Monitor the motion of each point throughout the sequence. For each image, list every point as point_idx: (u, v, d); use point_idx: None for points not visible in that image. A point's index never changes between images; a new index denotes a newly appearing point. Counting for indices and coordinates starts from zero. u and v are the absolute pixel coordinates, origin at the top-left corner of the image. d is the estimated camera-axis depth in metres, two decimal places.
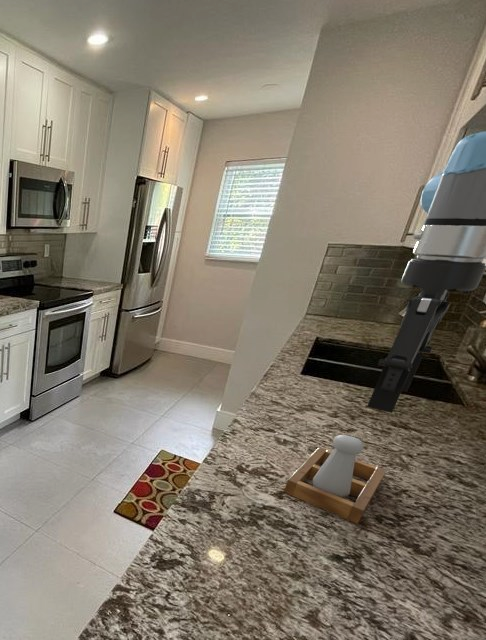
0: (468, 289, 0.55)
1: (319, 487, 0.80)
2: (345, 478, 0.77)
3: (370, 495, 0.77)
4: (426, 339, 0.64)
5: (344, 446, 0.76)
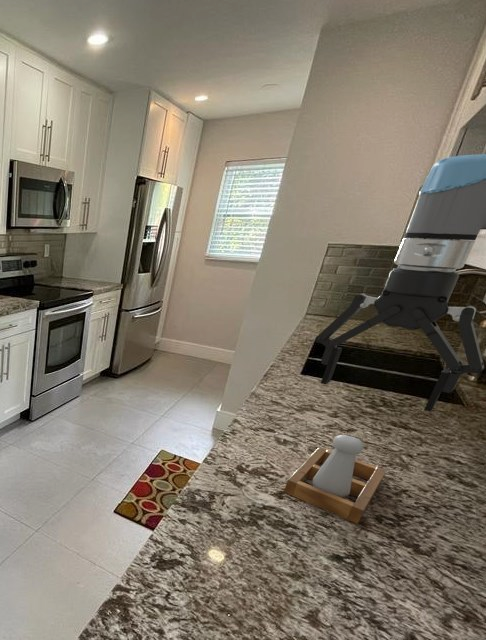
0: None
1: (319, 487, 0.80)
2: (345, 478, 0.77)
3: (370, 495, 0.77)
4: None
5: (344, 446, 0.76)
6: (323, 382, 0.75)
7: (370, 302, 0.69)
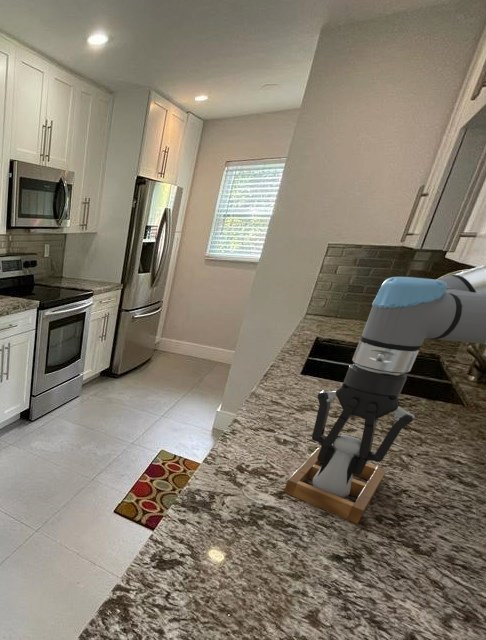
0: None
1: (319, 487, 0.80)
2: (345, 478, 0.77)
3: (370, 495, 0.77)
4: (340, 430, 0.78)
5: (344, 446, 0.76)
6: None
7: (333, 396, 0.77)
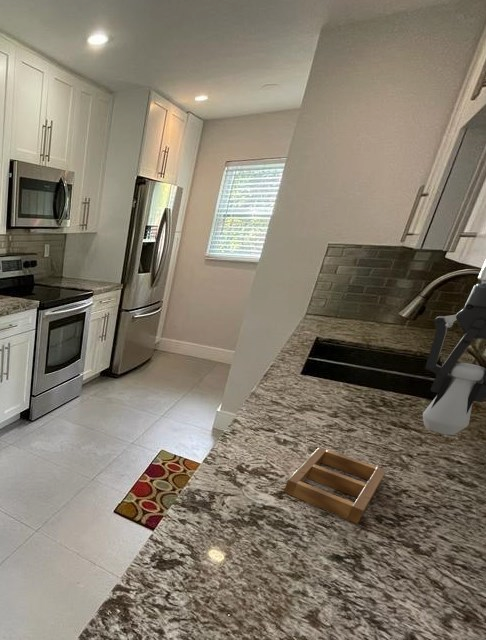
0: None
1: (434, 420, 0.76)
2: (466, 407, 0.73)
3: (370, 495, 0.77)
4: None
5: (466, 373, 0.72)
6: None
7: (453, 320, 0.73)
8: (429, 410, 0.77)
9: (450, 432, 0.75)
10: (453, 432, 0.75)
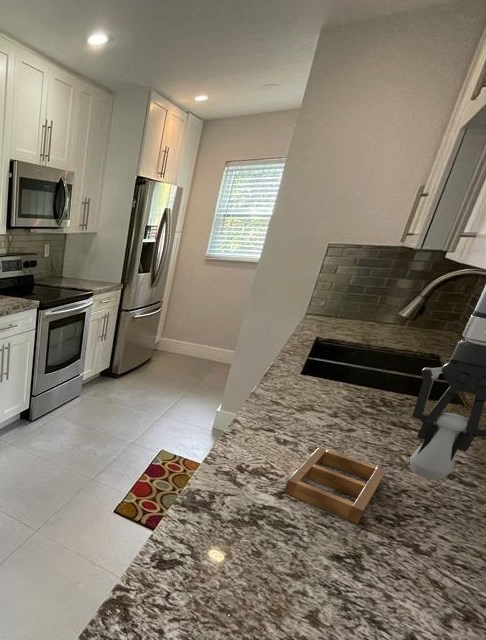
0: None
1: (420, 465, 0.80)
2: (450, 455, 0.77)
3: (370, 495, 0.77)
4: None
5: (451, 423, 0.76)
6: None
7: (438, 372, 0.77)
8: (416, 455, 0.81)
9: (435, 477, 0.79)
10: (438, 478, 0.79)
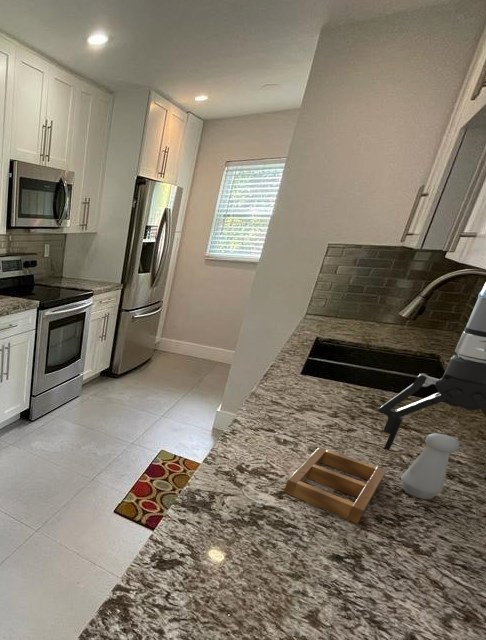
0: None
1: (411, 484, 0.81)
2: (440, 475, 0.79)
3: (370, 495, 0.77)
4: None
5: (440, 444, 0.78)
6: (386, 448, 0.84)
7: (432, 382, 0.78)
8: (407, 475, 0.83)
9: (426, 497, 0.81)
10: (428, 497, 0.81)
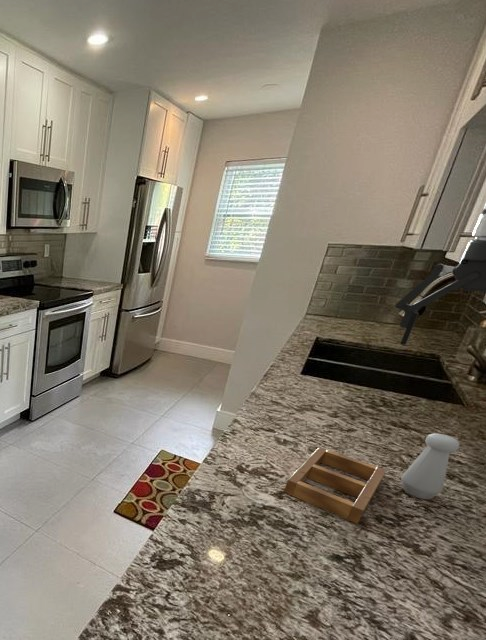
0: None
1: (411, 484, 0.81)
2: (440, 475, 0.79)
3: (370, 495, 0.77)
4: None
5: (440, 444, 0.78)
6: (402, 343, 0.86)
7: (449, 270, 0.80)
8: (407, 475, 0.83)
9: (426, 497, 0.81)
10: (428, 497, 0.81)
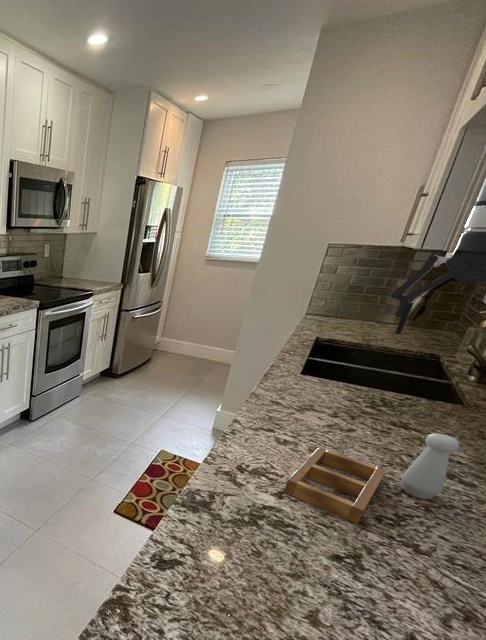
0: None
1: (411, 484, 0.81)
2: (440, 475, 0.79)
3: (370, 495, 0.77)
4: None
5: (440, 444, 0.78)
6: (397, 332, 0.89)
7: (442, 261, 0.82)
8: (407, 475, 0.83)
9: (426, 497, 0.81)
10: (428, 497, 0.81)
